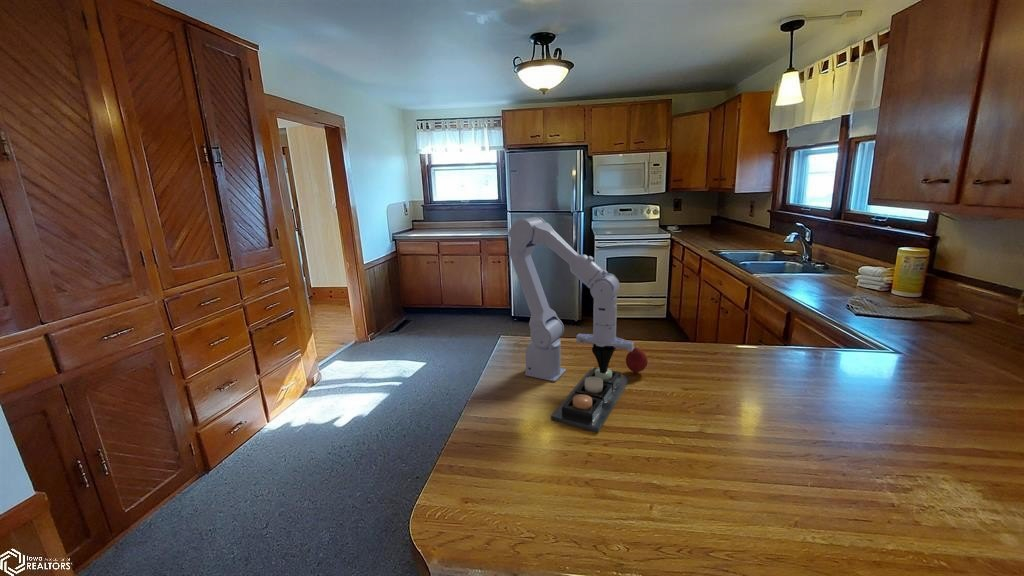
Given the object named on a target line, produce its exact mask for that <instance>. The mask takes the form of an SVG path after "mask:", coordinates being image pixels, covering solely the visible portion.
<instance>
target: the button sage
mask: <svg viewBox="0 0 1024 576" xmlns="http://www.w3.org/2000/svg"><path fill="white" fill-rule="evenodd" d="M597 368H598V369H596V370H595V377H599V378H601V379H603V380H608V381H611V379H612V371H611V370H612V369H610V368H608V369H607V372H606V373H600V369H599V367H597Z"/></svg>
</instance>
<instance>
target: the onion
mask: <svg viewBox="0 0 1024 576" xmlns="http://www.w3.org/2000/svg"><path fill="white" fill-rule="evenodd" d="M634 347H635V348H634V349H633V350H632V351H628V353H627V355H626V357H625V363H626V367H627V368H628V369H629V370H630V371H631V372H632V373H634V374H638V373H641V372H642V371H644V370H645V369H646V367H647V366H648V363H649V362H648V361H649V360H648V357H647V354H646V353H645V352H644V351H643V350H641V349H640V346H639V345H636V346H635V345H634Z"/></svg>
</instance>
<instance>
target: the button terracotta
mask: <svg viewBox="0 0 1024 576" xmlns="http://www.w3.org/2000/svg"><path fill="white" fill-rule="evenodd" d="M573 407H575V408H579V409H583V410H587V411H590V410H591V408H592V398H591V397H590V396H588V395H583V394H580V395H576V396H574V397H573Z"/></svg>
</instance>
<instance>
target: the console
mask: <svg viewBox="0 0 1024 576" xmlns="http://www.w3.org/2000/svg"><path fill="white" fill-rule="evenodd" d="M598 368H599V367H596V366H595V367H593V368H590V369H589V370H588V371H587V372H586V374H585V375H584V376H583V377H582V378H581V379H580V381H579V382H578V383H577V384H576V385H575V387H574V388H573V389H572V390H571V391H570V393H569V394H568V395H567V396H566V397H565V399H564V400H562V402H561V404H559V405H558V407H557V408H556V409H555V411H554V412H553V413H552V414H551V415H550V421H551V422H555V423H558V424H563V425H566V426H570V427H573V428H576V429H577V428H578V429H580V430H584V431H588V432H592V433H595V434H599V432H600V431H601V430H602V428H603V426H604V424H605V422H606V421H607V419H608V417H609V416H610V415H611V412H612V411H613V409H614V407H615V406H616V404H617V403H618V400H619V399H620V397H621V396H622V394H623V392H624V391H625V389H626V387H627V386H628V384H629V382H630V378H631V377H630V376H627V375H624V374H623V375H622V373H621V371H618V370H617V371H616V370H612V369H610V370H611V371H612V379H611V381H608V380H603V379H602V380H603V392H602V393H600V394H594V393H590V392H586V391H585V379H586V378H587V377H595V370H596V369H598ZM580 394H583V395H588V396H590V397H591V398H592V408H591V410H590V411H587V410H583V409H579V408H575V407H573V397H574V396H576V395H580Z"/></svg>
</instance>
